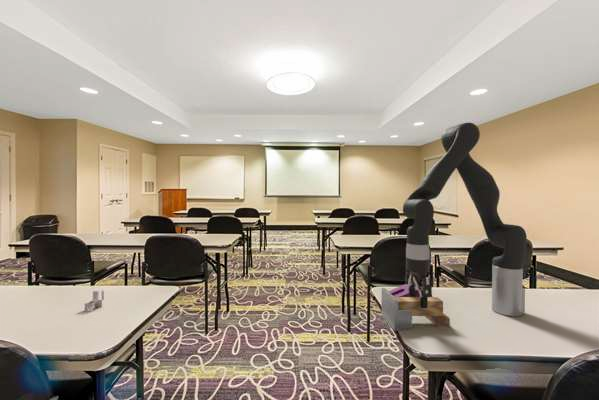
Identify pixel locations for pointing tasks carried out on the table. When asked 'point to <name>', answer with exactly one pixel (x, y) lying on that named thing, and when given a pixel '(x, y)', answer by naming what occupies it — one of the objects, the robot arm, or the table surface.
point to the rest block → (440, 320)
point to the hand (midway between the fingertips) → (417, 302)
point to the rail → (414, 305)
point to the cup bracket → (395, 312)
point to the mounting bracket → (404, 291)
